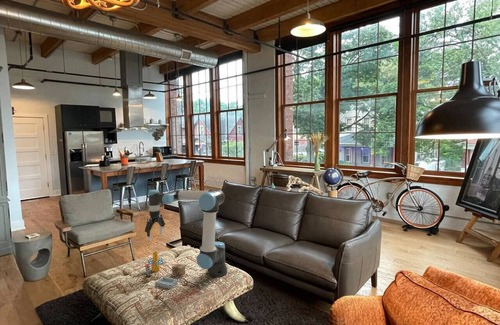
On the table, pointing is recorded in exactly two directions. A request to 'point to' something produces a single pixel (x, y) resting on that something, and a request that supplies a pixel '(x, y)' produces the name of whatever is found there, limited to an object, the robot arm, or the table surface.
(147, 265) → the pin
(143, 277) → the socket block
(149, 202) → the robot arm
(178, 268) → the block
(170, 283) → the tray
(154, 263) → the cylinder
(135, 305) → the table surface
